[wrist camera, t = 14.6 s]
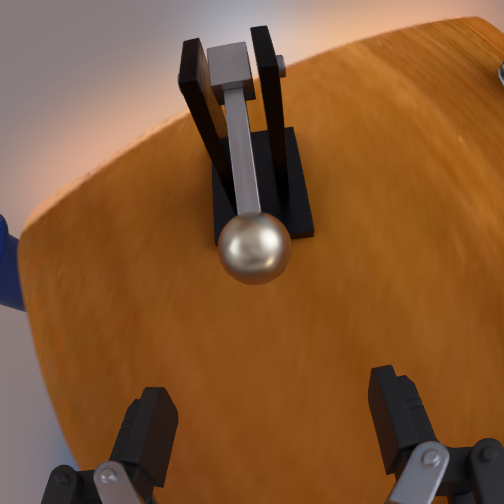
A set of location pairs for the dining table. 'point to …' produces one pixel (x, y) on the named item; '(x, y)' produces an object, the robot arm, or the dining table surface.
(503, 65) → the coffee can
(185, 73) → the switch bracket
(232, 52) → the switch lever
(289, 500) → the dining table surface
